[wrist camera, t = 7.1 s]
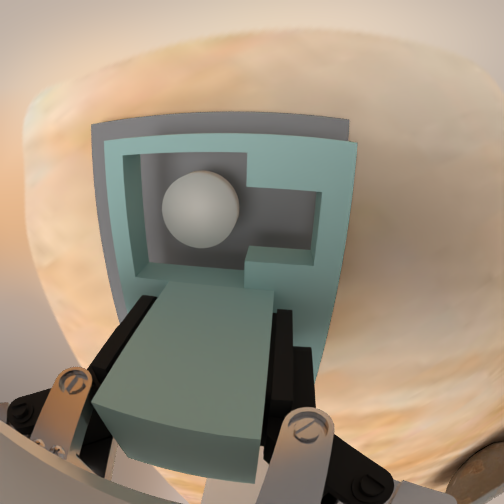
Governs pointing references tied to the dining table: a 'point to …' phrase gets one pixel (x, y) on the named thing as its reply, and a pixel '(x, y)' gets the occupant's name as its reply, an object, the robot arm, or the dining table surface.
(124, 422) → the teal frame with block
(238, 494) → the milk carton
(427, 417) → the dining table surface
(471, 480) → the ceramic bowl
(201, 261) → the board
